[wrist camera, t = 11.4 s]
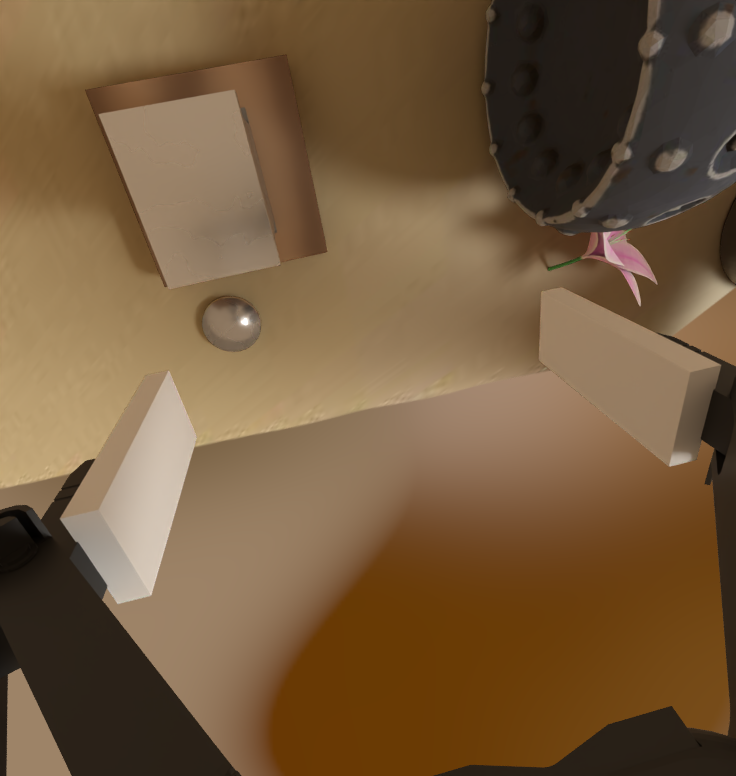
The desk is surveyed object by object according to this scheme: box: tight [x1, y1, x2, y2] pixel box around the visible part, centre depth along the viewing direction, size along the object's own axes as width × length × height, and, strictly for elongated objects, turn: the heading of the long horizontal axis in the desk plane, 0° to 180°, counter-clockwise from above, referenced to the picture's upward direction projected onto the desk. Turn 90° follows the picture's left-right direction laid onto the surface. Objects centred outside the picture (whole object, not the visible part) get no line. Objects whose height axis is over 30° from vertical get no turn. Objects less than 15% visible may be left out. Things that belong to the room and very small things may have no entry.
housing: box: [99, 90, 281, 289], centre depth 27 cm, size 6×8×12 cm
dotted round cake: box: [481, 0, 736, 236], centre depth 27 cm, size 11×20×20 cm, turn 9°
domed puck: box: [202, 296, 261, 352], centre depth 40 cm, size 5×5×1 cm
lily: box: [548, 229, 658, 306], centre depth 40 cm, size 12×12×10 cm
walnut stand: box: [85, 55, 327, 287], centre depth 34 cm, size 13×13×3 cm
